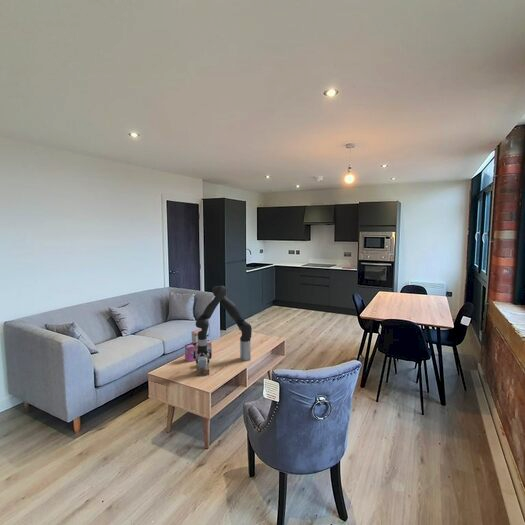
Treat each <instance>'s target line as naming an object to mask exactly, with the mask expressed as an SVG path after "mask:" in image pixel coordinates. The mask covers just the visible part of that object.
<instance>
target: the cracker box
mask: <svg viewBox="0 0 525 525" xmlns="http://www.w3.org/2000/svg"><path fill="white" fill-rule="evenodd" d="M201 330H202V329H201V328H198V329H196V330H193V331H191V343H196V342H198V332H199V331H201Z"/></svg>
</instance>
